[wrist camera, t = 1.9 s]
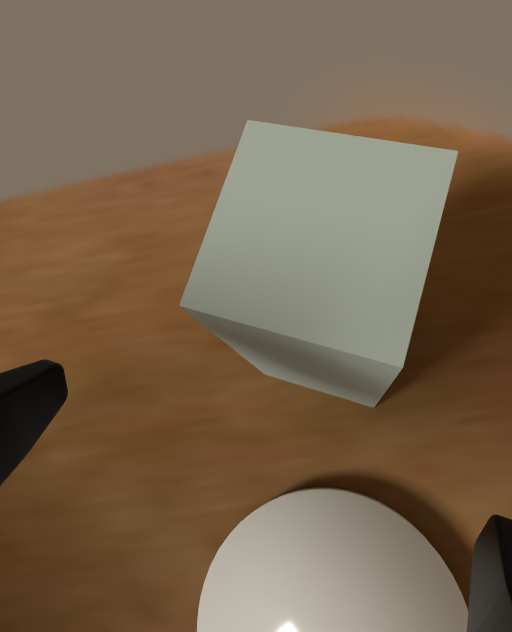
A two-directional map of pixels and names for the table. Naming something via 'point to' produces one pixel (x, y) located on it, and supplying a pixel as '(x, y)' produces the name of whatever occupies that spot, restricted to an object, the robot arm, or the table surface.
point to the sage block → (321, 255)
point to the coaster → (329, 571)
